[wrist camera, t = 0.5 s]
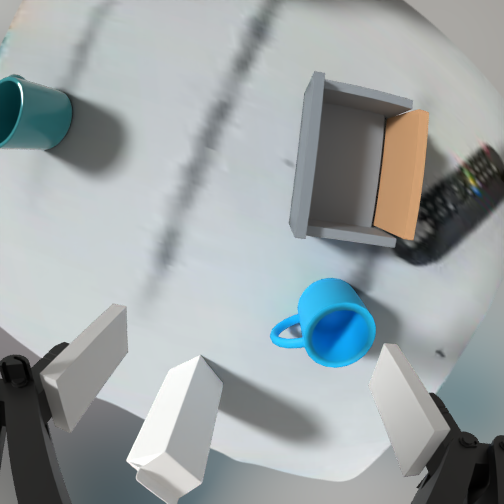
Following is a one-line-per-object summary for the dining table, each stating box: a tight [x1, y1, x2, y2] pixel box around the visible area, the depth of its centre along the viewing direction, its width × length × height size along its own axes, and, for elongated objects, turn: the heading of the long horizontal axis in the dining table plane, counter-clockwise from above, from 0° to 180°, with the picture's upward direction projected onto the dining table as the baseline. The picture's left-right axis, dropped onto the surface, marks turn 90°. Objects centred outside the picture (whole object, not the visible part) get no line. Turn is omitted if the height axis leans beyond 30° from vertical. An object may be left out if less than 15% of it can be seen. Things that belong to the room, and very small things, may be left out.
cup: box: [0, 74, 72, 150], centre depth 31 cm, size 9×12×11 cm
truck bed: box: [289, 71, 413, 248], centre depth 32 cm, size 16×11×9 cm
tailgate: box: [374, 109, 429, 240], centre depth 32 cm, size 13×1×8 cm, turn 173°
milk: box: [126, 355, 223, 504], centre depth 34 cm, size 6×6×22 cm
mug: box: [270, 278, 376, 368], centre depth 37 cm, size 12×8×8 cm
